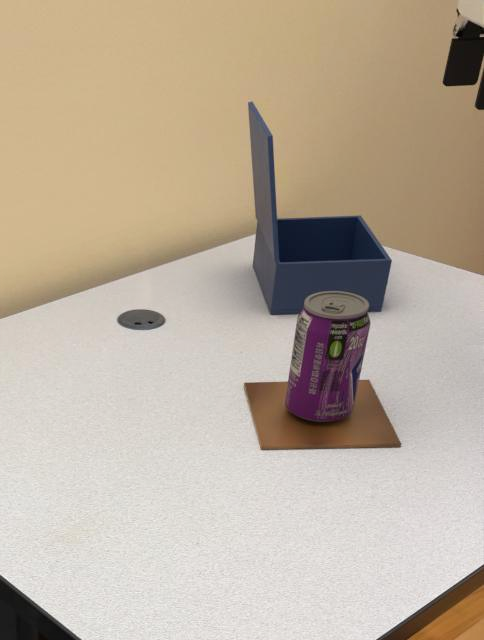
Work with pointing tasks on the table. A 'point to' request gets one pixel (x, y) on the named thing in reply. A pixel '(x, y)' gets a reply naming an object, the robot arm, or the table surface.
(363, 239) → the box
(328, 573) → the table surface
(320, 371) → the beverage can
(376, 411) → the cork mat
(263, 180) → the lunchbox lid
